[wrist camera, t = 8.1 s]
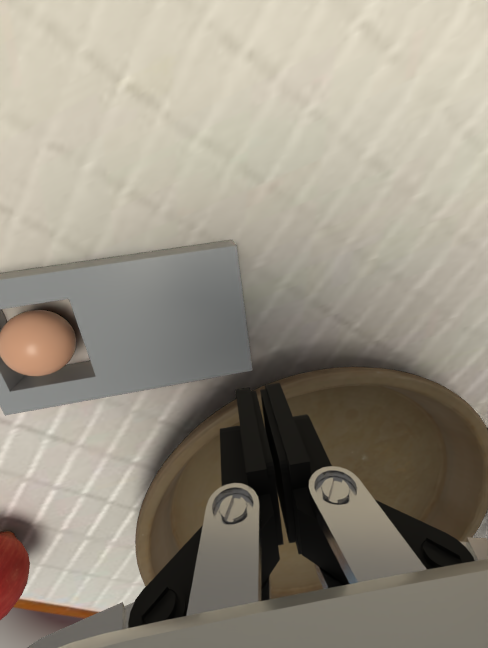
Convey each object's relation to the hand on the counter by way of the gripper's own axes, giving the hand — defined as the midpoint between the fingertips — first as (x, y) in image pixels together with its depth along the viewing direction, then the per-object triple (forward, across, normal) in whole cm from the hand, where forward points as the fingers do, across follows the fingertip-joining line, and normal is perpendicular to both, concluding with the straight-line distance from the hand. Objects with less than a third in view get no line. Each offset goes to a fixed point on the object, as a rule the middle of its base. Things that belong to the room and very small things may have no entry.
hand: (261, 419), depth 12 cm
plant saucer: (+13, -5, +19) cm, 24 cm away
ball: (+9, +12, -1) cm, 15 cm away
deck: (+11, +8, -1) cm, 14 cm away
